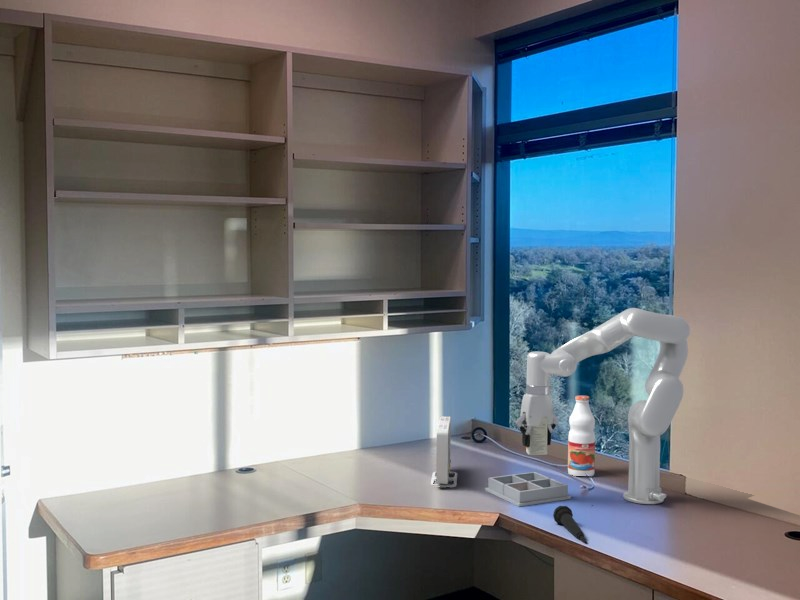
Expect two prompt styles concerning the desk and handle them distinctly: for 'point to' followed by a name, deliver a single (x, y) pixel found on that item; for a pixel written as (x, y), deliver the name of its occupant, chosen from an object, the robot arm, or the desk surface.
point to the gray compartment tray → (527, 489)
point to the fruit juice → (581, 439)
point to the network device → (443, 454)
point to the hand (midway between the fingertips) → (536, 444)
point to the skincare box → (538, 439)
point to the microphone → (568, 521)
